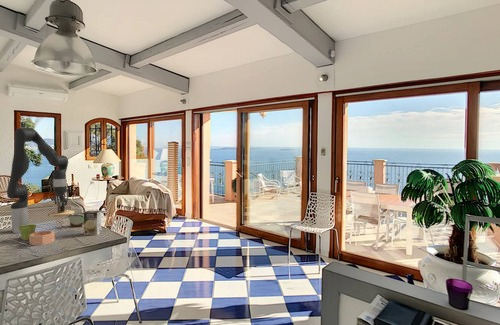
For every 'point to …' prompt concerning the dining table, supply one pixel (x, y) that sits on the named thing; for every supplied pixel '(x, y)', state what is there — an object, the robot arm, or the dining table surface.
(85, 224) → the coffee box
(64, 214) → the oak lid
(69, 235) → the charcoal mat
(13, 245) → the dining table surface
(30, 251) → the dining table surface
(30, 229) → the plant pot
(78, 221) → the food container
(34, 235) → the terracotta bowl
